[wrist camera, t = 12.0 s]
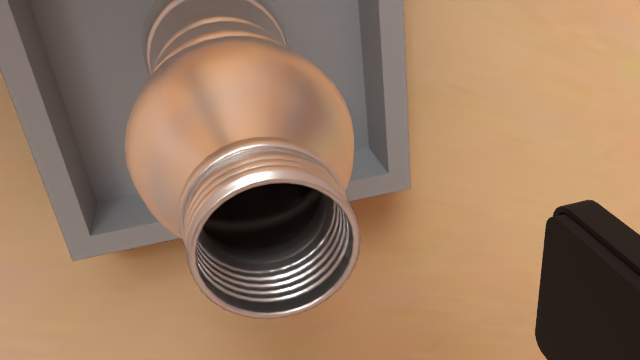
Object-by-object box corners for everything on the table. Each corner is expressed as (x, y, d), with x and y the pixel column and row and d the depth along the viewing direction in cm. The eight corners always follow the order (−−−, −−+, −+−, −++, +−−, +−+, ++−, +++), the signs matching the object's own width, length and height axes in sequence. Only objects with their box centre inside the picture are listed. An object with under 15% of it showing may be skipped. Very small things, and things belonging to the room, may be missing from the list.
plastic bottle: (257, 110, 32) (367, 381, 15) (129, 77, 30) (80, 353, 12) (294, -7, 30) (476, 150, 12) (159, -53, 27) (148, 63, 10)
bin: (-43, -142, 25) (-81, -146, 21) (362, -187, 28) (395, -198, 24) (83, 216, 34) (72, 261, 30) (384, 155, 36) (410, 188, 32)
